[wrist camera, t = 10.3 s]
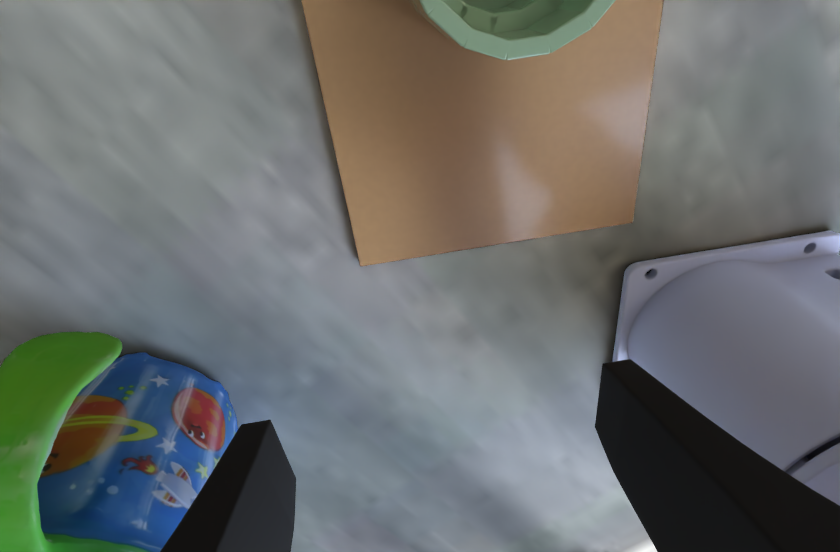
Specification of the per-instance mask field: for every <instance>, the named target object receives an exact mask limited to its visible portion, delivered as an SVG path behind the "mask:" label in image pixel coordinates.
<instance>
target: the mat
mask: <svg viewBox="0 0 840 552" xmlns="http://www.w3.org/2000/svg"><path fill="white" fill-rule="evenodd" d="M663 1H664V0H616V1H615V2H614V3H613V4H612V5H611V7H610V8H609V9H608V10H607V11H606V13H605V14H604V15H603V16H602V17H601V19H600V20H599V21H598V22H597V23H596V25H595V26H594V27H592V28H591V29H590V30H589V31H587V32H586V33H584V34H582V35H581V36H579V37H578V38H576V39H574V40H573V41H571V42H569V43H568V44H566V45H564V46H563V47H561V48H559V49H558V50H556V51H554V52H553V53H549V54H548V55H541V56H534V57H527V58H521V59H514V60H501V59H498V58H494V57H491V56H488V55H485V54H481V53H478V52H475V51H471V50H468V49H465V48H463V47H461V46H460V45H458V44H456V43H455V42H453V41H451V40H450V39H448V38H447V37H445V36H443V35H442V34H440V33H439V32H438V31H436V30H435V29H434V28H433V27H432V26H431V25H430V24H429V23H427V22H426V21H425V20H424V19H423V18H422V17H421V16H420V15H419V14H417V13H416V12H415V11H414V8H413V7H412V6H411V5H410V3H409V1H408V0H301V2H302V6H303V11H304V15H305V20H306V24H307V29H308V33H309V38H310V42H311V47H312V51H313V56H314V60H315V65H316V69H317V74H318V78H319V83H320V87H321V92H322V96H323V101H324V105H325V110H326V114H327V119H328V123H329V128H330V132H331V137H332V141H333V146H334V150H335V155H336V159H337V164H338V168H339V173H340V177H341V182H342V186H343V191H344V195H345V200H346V204H347V209H348V213H349V218H350V222H351V227H352V231H353V236H354V240H355V245H356V249H357V254H358V258H359V263H360V266H367V265H373V264H379V263H386V262H392V261H398V260H404V259H411V258H417V257H423V256H429V255H435V254H442V253H448V252H454V251H460V250H467V249H473V248H479V247H485V246H492V245H498V244H504V243H510V242H516V241H523V240H529V239H535V238H541V237H548V236H554V235H560V234H566V233H572V232H579V231H585V230H591V229H597V228H604V227H610V226H616V225H622V224H629V223H633V217H634V210H635V203H636V196H637V189H638V181H639V174H640V167H641V160H642V153H643V145H644V138H645V131H646V124H647V117H648V109H649V102H650V95H651V88H652V81H653V73H654V66H655V59H656V52H657V44H658V37H659V30H660V23H661V16H662V8H663Z"/></svg>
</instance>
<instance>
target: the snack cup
mask: <svg viewBox="0 0 840 552" xmlns="http://www.w3.org/2000/svg"><path fill="white" fill-rule="evenodd" d="M121 351H122V343H121V341H120V340H119V339H118V338H115V337H113V336H110V335H108V334H104V333H99V332H91V333H89V332H86V333H84V332H60V333H53V334H47V335H42V336H38V337H36V338H33V339H31V340H29V341H27V342H25V343H23V344H21V345H19V346H17V347H16V348H15V349H14V350H13V351H12V352H11V353H10V354H9V355H8V356H7V357H6V358H5V359H4V361H3V363H2V365H1V367H0V552H160V551H161V549H162V548H163V547H164V545H165V544H166V542H167V541H168V539H169V538H170V536H171V535H172V534H173V532H174V531H175V529H176V528H177V526H178V524H179V523H180V521H181V520H182V518H183V517H184V515H185V514H186V512H187V511H188V509H189V508H190V506H191V504H192V503H193V501H194V500H195V498H196V497H197V495H198V494H199V492H200V491H201V489H202V487H203V486H204V484H205V483H206V481H207V479H208V478H209V476H210V475H211V473H212V471H213V470H214V468H215V466H216V465H217V463H218V462H219V460H220V458H221V457H222V455H223V453H224V452H225V450H226V448H227V447H228V445H229V443H230V442H231V440H232V438H233V437H234V435H235V434H236V432H237V430H238V428H237V418H236V414H235V412H234V410H233V407H232V405H231V403H230V401H229V396H228V392H227V391H226V390H225V389H224V388H223V386H222V385H221V383H220V382H218V381H212V380H210V379H208V378H207V377H205V376H204V375H203V374H202V373H199V372H197V371H196V370H193V369H191V368H188V367H186V366H183V365H180V364H177V363H174V362H170V361H167V360H162V359H159V358H156V357H152V356H149V355H148V354H147V353H135V354H126V355H124V356H123V357H120V358H117V357H118V356H119V355H120V353H121Z"/></svg>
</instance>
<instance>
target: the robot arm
mask: <svg viewBox="0 0 840 552" xmlns="http://www.w3.org/2000/svg"><path fill="white" fill-rule="evenodd" d="M805 246H806V247H805ZM839 250H840V234H839V233H837V232H835V231H824V232H818V233H812V234H806V235H800V236H794V237H788V238H781V239H775V240H769V241H763V242H757V243H751V244H745V245H739V246H732V247H726V248H720V249H714V250H708V251H702V252H696V253H690V254H683V255H677V256H671V257H665V258H659V259H653V260H647V261H640V262H636V263H633V264H631V265H630V266H628V268H627V269H626V270H625V273H624V279H623V287H622V294H621V301H620V309H619V316H618V323H617V330H616V338H615V345H614V352H613V360H612V362H609V363H603V366H602V374H601V382H600V390H599V398H598V406H597V415H596V423H595V428H596V430H597V433H598V435H599V438H600V440H601V443H602V445H603V448H604V450H605V453H606V455H607V457H608V460H609V462H610V464H611V467H612V469H613V471H614V473H615V475H616V477H617V479H618V481H619V483H620V485H621V486H622V488H623V490H624V492H625V494H626V495H627V497H628V499H629V501H630V503H631V505H632V506H633V508H634V510H635V512H636V514H637V515H638V517H639V519H640V521H641V522H642V524H643V526H644V528H645V530H646V531H647V533H648V535H649V537H650V539H651V540H652V542H653V544H654V546H655V548H656V549H657V551H658V552H840V256H839V255H837V254H838V252H839ZM651 269H652V270H651ZM648 270H651V272H650V273H649V274H646V272H647V271H648ZM645 274H646V275H645ZM295 492H296V477H295V475H294V473H293V471H292V468H291V466H290V464H289V461H288V459H287V457H286V454H285V452H284V450H283V448H282V445H281V443H280V441H279V438H278V436H277V434H276V431H275V429H274V427H273V424H272V422H271V420H266V421H260V422H254V423H248V424H242V425H241V426H240V428H239V429H238V430H237V432H236V434H235V435H234V437H233V438H232V440H231V442H230V443H229V445H228V447H227V448H226V450H225V452H224V453H223V455H222V457H221V458H220V460H219V462H218V463H217V465H216V466H215V468H214V470H213V471H212V473H211V475H210V476H209V478H208V479H207V481H206V483H205V484H204V486H203V487H202V489H201V491H200V492H199V494H198V495H197V497H196V498H195V500H194V501H193V503H192V504H191V506H190V508H189V509H188V511H187V512H186V514H185V515H184V517H183V518H182V520H181V521H180V523H179V524H178V526H177V528H176V529H175V531H174V532H173V534H172V535H171V536H170V538H169V539H168V541H167V542H166V544H165V545H164V547H163V548H162V549H161V551H160V552H290V551H291V545H292V538H293V531H294V516H295Z"/></svg>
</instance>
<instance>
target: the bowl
mask: <svg viewBox="0 0 840 552" xmlns="http://www.w3.org/2000/svg"><path fill="white" fill-rule="evenodd" d="M408 1H409V3H410V5H411V6H412V7H413V8H414V11H415V12H416V13H417V14H419V15H420V16H421V17H422V18H423V19H424V20H425V21H426V22H427V23H429V24H430V25H431V26H432V27H433V28H434V29H435V30H436V31H438V32H439V33H440V34H442V35H443V36H445V37H447V38H448V39H450V40H451V41H453V42H455V43H456V44H458V45H460V46H461V47H463V48H465V49H468V50H471V51H475V52H478V53H481V54H485V55H488V56H491V57H494V58H498V59H501V60H514V59H521V58H527V57H534V56H541V55H548V54H549V53H553V52H554V51H556V50H558V49H559V48H561V47H563V46H564V45H566V44H568V43H569V42H571V41H573V40H574V39H576V38H578V37H579V36H581V35H582V34H584V33H586V32H587V31H589V30H590V29H591V28H592V27H594V26H595V25H596V23H597V22H598V21H599V20H600V19H601V17H602V16H603V15H604V14H605V13H606V11H607V10H608V9H609V8H610V7H611V5H612V4H613V3H614V2H615V1H616V0H408Z"/></svg>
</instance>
